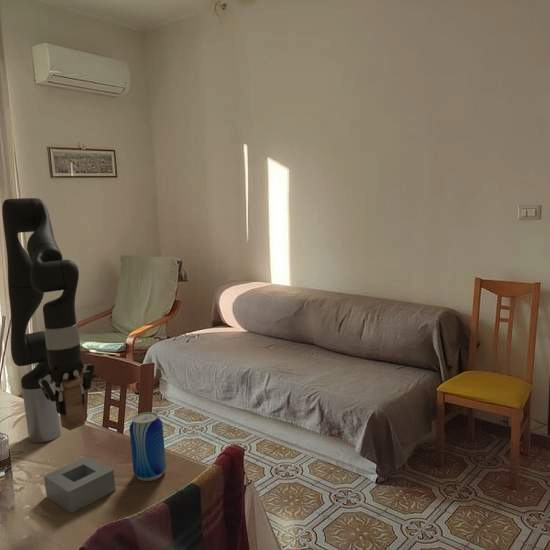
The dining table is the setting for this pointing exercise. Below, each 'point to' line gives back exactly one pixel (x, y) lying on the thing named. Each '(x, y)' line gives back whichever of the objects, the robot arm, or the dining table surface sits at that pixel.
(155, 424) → the beer can
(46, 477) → the well block
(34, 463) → the dining table surface
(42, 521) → the dining table surface
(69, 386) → the tall wooden block
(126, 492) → the dining table surface
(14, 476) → the dining table surface
